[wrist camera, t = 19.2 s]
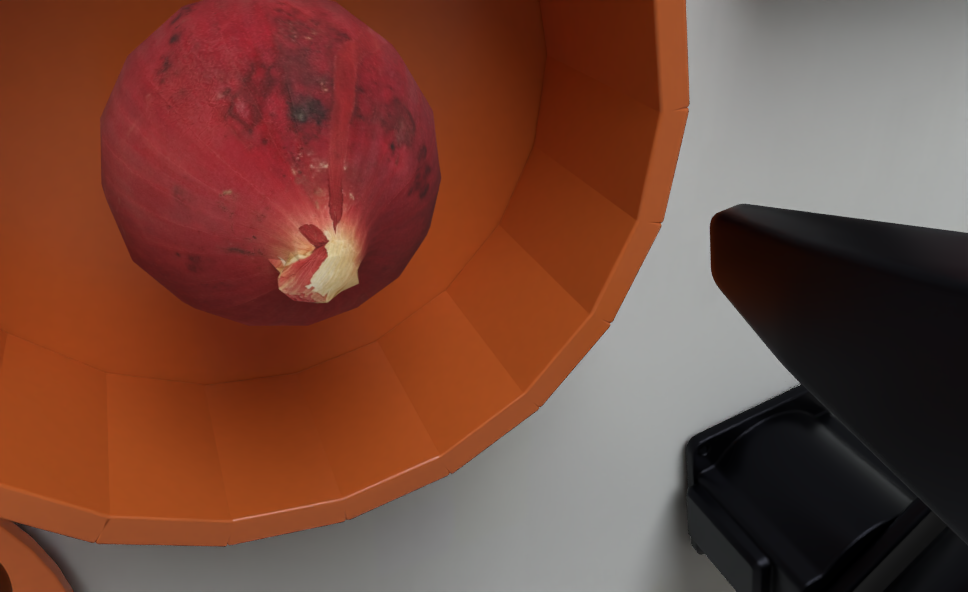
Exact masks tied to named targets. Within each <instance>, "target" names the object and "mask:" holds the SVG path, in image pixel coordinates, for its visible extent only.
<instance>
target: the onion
mask: <svg viewBox="0 0 968 592" xmlns="http://www.w3.org/2000/svg"><path fill="white" fill-rule="evenodd" d="M100 138H101V184H102V188H103V191H104V194H105V197H106V200H107V203H108V205H109V207H110V210H111V212H112V214H113V217H114V219H115V221H116V224H117V226H118V228H119V231H120V233H121V235H122V238H123V240H124V242H125V245H126V247H127V249H128V252H129V254H130V256H131V259H132V261H133V262H134V263H136V264H137V265H138V266H139V267H141V268H142V269H143V270H144V271H145V272H147V273H148V274H149V275H150V276H152V277H153V278H154V279H155V280H156V281H158V282H159V283H160V284H161V285H163V286H164V287H165V288H166V289H167V290H169V291H170V292H171V293H172V294H174V295H175V296H176V297H177V298H178V299H180V300H181V301H182V302H184V303H186V304H188V305H189V306H191V307H193V308H195V309H198V310H201V311H204V312H207V313H211V314H214V315H217V316H220V317H223V318H226V319H229V320H232V321H235V322H239V323H242V324H245V325H248V326H308V325H311V324H314V323H317V322H319V321H322V320H325V319H327V318H330V317H333V316H336V315H338V314H341V313H344V312H346V311H349V310H352V309H354V308H357V307H359V306H360V305H361V304H363V303H364V302H365V301H367V300H368V299H370V298H371V297H372V296H374V295H375V294H376V293H378V292H379V291H381V290H382V289H383V288H385V287H386V286H387V285H389V284H390V283H392V282H393V281H394V280H396V279H397V278H398V277H400V275H401V274H402V272H403V270H404V269H405V267H406V266H407V264H408V263H409V261H410V260H411V258H412V257H413V255H414V254H415V252H416V251H417V249H418V248H419V246H420V245H421V243H422V242H423V240H424V239H425V237H426V236H427V233H428V231H429V229H430V226H431V221H432V217H433V213H434V208H435V204H436V200H437V195H438V191H439V186H440V182H441V172H440V166H439V158H438V150H437V141H436V132H435V124H434V115H433V110H432V108H431V107H430V105H429V103H428V102H427V100H426V98H425V97H424V95H423V93H422V91H421V90H420V88H419V86H418V85H417V83H416V81H415V80H414V78H413V76H412V74H411V73H410V71H409V69H408V68H407V66H406V64H405V63H404V61H403V59H402V58H401V56H400V55H399V53H398V52H397V50H396V49H395V48H394V46H393V45H392V44H391V43H390V42H389V41H387V40H386V39H385V38H383V37H382V36H381V35H379V34H378V33H377V32H375V31H374V30H373V29H371V28H370V27H369V26H367V25H366V24H365V23H363V22H362V21H361V20H359V19H358V18H357V17H355V16H354V15H353V14H351V13H350V12H349V11H347V10H346V9H345V8H343V7H342V6H341V5H339V4H338V3H337V2H335V1H329V0H202V1H199V2H195V3H192V4H188V5H185V6H182V7H181V8H180V9H179V10H178V11H177V12H176V13H174V14H173V15H172V16H171V17H170V18H169V19H168V20H167V21H166V22H164V23H163V24H162V25H161V26H160V27H159V28H158V29H157V30H156V31H154V32H153V33H152V34H151V35H150V36H149V37H148V38H147V39H146V40H144V41H143V42H142V43H141V44H140V45H139V46H138V47H137V48H136V49H134V50H133V51H132V52H131V53H130V54H129V55H128V56H127V58H126V60H125V63H124V65H123V67H122V69H121V72H120V74H119V76H118V79H117V81H116V83H115V85H114V88H113V90H112V92H111V95H110V97H109V99H108V101H107V104H106V106H105V108H104V111H103V113H102V115H101V117H100Z"/></svg>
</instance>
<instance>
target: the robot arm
mask: <svg viewBox="0 0 968 592" xmlns="http://www.w3.org/2000/svg"><path fill="white" fill-rule="evenodd" d="M710 251H711V272H712V276H713V278H714V281H715V283H716V284H717V286H718V287H719V289H720V290H721V291H722V293H723V294H724V295H725V296H726V297H727V299H728V300H729V301H730V302H731V303H732V305H733V306H734V307H735V308H736V309H737V311H738V312H739V313H740V314H741V315H742V317H743V318H744V319H745V320H746V322H747V323H748V324H749V325H750V326H751V328H752V329H753V330H754V331H755V332H756V334H757V335H758V336H759V337H760V338H761V340H762V341H763V342H764V343H765V344H766V346H767V347H768V348H769V349H770V351H771V352H772V353H773V354H774V355H775V356H776V358H777V359H778V360H779V361H780V362H781V363H782V364H783V365H784V367H785V368H786V369H787V370H788V371H789V372H790V373H791V374H792V375H793V376H794V377H795V378H796V379H797V380H798V381H799V382H800V383H801V384H802V385H800V386H798V387H796V388H794V389H792V390H790V391H787V392H785V393H783V394H781V395H779V396H777V397H775V398H773V399H771V400H769V401H766V402H764V403H762V404H760V405H758V406H756V407H754V408H752V409H750V410H747V411H745V412H743V413H741V414H739V415H737V416H735V417H733V418H731V419H728V420H726V421H724V422H722V423H720V424H718V425H716V426H714V427H712V428H709V429H707V430H705V431H703V432H701V433H699V434H697V435H695V436H694V437H692V438H691V440H690V441H689V442H688V444H687V447H686V457H687V476H688V491H687V495H686V496H687V514H688V532H689V535H690V537H691V545H692V547H693V548H694V549H695V550H696V551H697V553H699V554H705V555H706V556H707V557H708V558H709V559H710V561H711V562H712V563H713V564H714V565H715V567H716V568H717V569H718V570H719V571H720V572H721V574H722V575H723V576H724V577H725V578H726V580H727V581H728V582H729V583H730V584H731V586H732V587H733V588H734V589H735V590H736V592H968V233H964V232H956V231H948V230H941V229H933V228H926V227H918V226H910V225H903V224H895V223H887V222H880V221H872V220H865V219H857V218H849V217H842V216H834V215H826V214H819V213H811V212H803V211H796V210H788V209H781V208H773V207H765V206H758V205H750V204H739V205H736V206H733V207H731V208H728V209H726V210H723V211H721V212H719V213H716V214H715V215H714V216H713V218H712V220H711V223H710ZM0 592H13V590H12V585H11V581H10V578H9V575H8V573H7V571H6V570H5V568H4V566H3V565H2V564H1V563H0Z"/></svg>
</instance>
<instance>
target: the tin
mask: <svg viewBox="0 0 968 592" xmlns="http://www.w3.org/2000/svg"><path fill="white" fill-rule="evenodd" d="M199 1H202V0H0V518H2V519H5V520H9V521H13V522H17V523H20V524H24V525H28V526H31V527H35V528H39V529H43V530H46V531H50V532H54V533H58V534H61V535H65V536H69V537H72V538H76V539H80V540H84V541H87V542H91V543H95V542H96V543H97V544H126V545H173V546H220V547H225V546H227V544H228V545H235V544H240V543H245V542H249V541H254V540H259V539H264V538H269V537H274V536H278V535H283V534H288V533H293V532H298V531H302V530H307V529H312V528H317V527H322V526H327V525H331V524H336V523H341V522H344V521H345V520H346V519H347V520H350V519H353V518H355V517H357V516H359V515H362V514H364V513H366V512H368V511H370V510H373V509H375V508H377V507H379V506H382V505H384V504H386V503H388V502H390V501H393V500H395V499H397V498H399V497H402V496H404V495H406V494H408V493H410V492H413V491H415V490H417V489H419V488H422V487H424V486H426V485H428V484H430V483H433V482H435V481H437V480H439V479H442V478H444V477H446V476H448V475H449V473H451V474H452V473H454V472H455V471H457V470H458V469H459V468H461V467H462V466H463V465H465V464H466V463H468V462H469V461H470V460H472V459H473V458H474V457H476V456H477V455H478V454H480V453H481V452H482V451H484V450H485V449H486V448H488V447H489V446H490V445H492V444H493V443H494V442H496V441H497V440H498V439H500V438H501V437H502V436H504V435H505V434H506V433H508V432H509V431H510V430H512V429H513V428H514V427H516V426H517V425H518V424H520V423H521V422H522V421H524V420H525V419H526V418H528V417H529V416H530V415H532V414H533V413H535V412H536V411H537V410H538V409H539V407H541V406H542V405H543V404H544V403H545V402H546V401H547V399H548V398H549V397H550V396H551V395H552V394H553V392H554V391H555V390H556V389H557V388H558V387H559V385H560V384H561V383H562V382H563V381H564V380H565V378H566V377H567V376H568V375H569V374H570V373H571V371H572V370H573V369H574V368H575V367H576V365H577V364H578V363H579V362H580V361H581V360H582V358H583V357H584V356H585V355H586V354H587V353H588V351H589V350H590V349H591V348H592V347H593V346H594V344H595V343H596V342H597V341H598V340H599V339H600V337H601V336H602V335H603V334H604V333H605V332H606V330H607V329H608V328H609V327H610V323H611V322H612V321H613V320H614V318H615V316H616V314H617V312H618V310H619V308H620V306H621V304H622V302H623V300H624V298H625V296H626V295H627V293H628V291H629V289H630V287H631V285H632V283H633V281H634V279H635V277H636V275H637V273H638V271H639V269H640V267H641V265H642V263H643V261H644V259H645V258H646V256H647V254H648V252H649V250H650V248H651V246H652V244H653V242H654V240H655V238H656V236H657V234H658V232H659V230H660V228H661V223H662V222H663V220H664V216H665V212H666V208H667V203H668V199H669V195H670V190H671V186H672V182H673V177H674V173H675V169H676V164H677V160H678V156H679V151H680V147H681V143H682V138H683V134H684V130H685V125H686V121H687V117H688V112H689V109H688V108H687V107H688V106H689V104H690V103H689V76H688V49H687V22H686V0H329V1H335V2H337V3H338V4H339V5H341V6H342V7H343V8H345V9H346V10H347V11H349V12H350V13H351V14H353V15H354V16H355V17H357V18H358V19H359V20H361V21H362V22H363V23H365V24H366V25H367V26H369V27H370V28H371V29H373V30H374V31H375V32H377V33H378V34H379V35H381V36H382V37H383V38H385V39H386V40H387V41H389V42H390V43H391V44H392V45H393V46H394V48H395V49H396V50H397V52H398V53H399V55H400V56H401V58H402V59H403V61H404V63H405V64H406V66H407V68H408V69H409V71H410V73H411V74H412V76H413V78H414V80H415V81H416V83H417V85H418V86H419V88H420V90H421V91H422V93H423V95H424V97H425V98H426V100H427V102H428V103H429V105H430V107H431V108H432V110H433V115H434V124H435V132H436V141H437V150H438V158H439V166H440V172H441V182H440V186H439V191H438V195H437V200H436V204H435V208H434V213H433V217H432V221H431V226H430V229H429V231H428V233H427V236H426V237H425V239H424V240H423V242H422V243H421V245H420V246H419V248H418V249H417V251H416V252H415V254H414V255H413V257H412V258H411V260H410V261H409V263H408V264H407V266H406V267H405V269H404V270H403V272H402V274H401V275H400V277H398V278H397V279H396V280H394V281H393V282H392V283H390V284H389V285H387V286H386V287H385V288H383V289H382V290H381V291H379V292H378V293H376V294H375V295H374V296H372V297H371V298H370V299H368V300H367V301H365V302H364V303H363V304H361V305H360V306H359V307H357V308H354V309H352V310H349V311H346V312H344V313H341V314H338V315H336V316H333V317H330V318H327V319H325V320H322V321H319V322H317V323H314V324H311V325H308V326H248V325H245V324H242V323H239V322H235V321H232V320H229V319H226V318H223V317H220V316H217V315H214V314H211V313H207V312H204V311H201V310H198V309H195V308H193V307H191V306H189V305H188V304H186V303H184V302H182V301H181V300H180V299H178V298H177V297H176V296H175V295H174V294H172V293H171V292H170V291H169V290H167V289H166V288H165V287H164V286H163V285H161V284H160V283H159V282H158V281H156V280H155V279H154V278H153V277H152V276H150V275H149V274H148V273H147V272H145V271H144V270H143V269H142V268H141V267H139V266H138V265H137V264H136V263H134V262H133V261H132V259H131V256H130V254H129V252H128V249H127V247H126V245H125V242H124V240H123V238H122V235H121V233H120V231H119V228H118V226H117V224H116V221H115V219H114V217H113V214H112V212H111V210H110V207H109V205H108V203H107V200H106V197H105V194H104V191H103V188H102V184H101V138H100V117H101V115H102V113H103V111H104V108H105V106H106V104H107V101H108V99H109V97H110V95H111V92H112V90H113V88H114V85H115V83H116V81H117V79H118V76H119V74H120V72H121V69H122V67H123V65H124V63H125V60H126V58H127V56H128V55H129V54H130V53H131V52H132V51H133V50H134V49H136V48H137V47H138V46H139V45H140V44H141V43H142V42H143V41H144V40H146V39H147V38H148V37H149V36H150V35H151V34H152V33H153V32H154V31H156V30H157V29H158V28H159V27H160V26H161V25H162V24H163V23H164V22H166V21H167V20H168V19H169V18H170V17H171V16H172V15H173V14H174V13H176V12H177V11H178V10H179V9H180V8H181V7H182V6H185V5H188V4H192V3H195V2H199Z"/></svg>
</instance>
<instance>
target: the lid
mask: <svg viewBox="0 0 968 592" xmlns="http://www.w3.org/2000/svg"><path fill="white" fill-rule="evenodd" d="M0 563H1V564H2V565H3V566H4V568H5V570H6V571H7V573H8V575H9V578H10V581H11V585H12V590H13V592H74V591H73V589H72V588H71V586H70V584H69V583H68V581H67V580H66V578H65V577H64V575H63V573H62V572H61V570H60V569H59V567H58V566H57V564H56V563H55V562H54V561H53V559H52V558H51V557H50V556H49V555H48V554H47V553H46V552H45V551H44V550H43V549H42V548H41V547H40V545H39V544H38V543H37V542H36V541H35V540H34V539H33V538H32V537H31V536H30V535H28V534H27V533H26V532H24V531H23V530H22V529H21V528H19V527H18V526H17V525H16V524H14V523H13V522H12V521H9V520H5V519H2V518H0Z"/></svg>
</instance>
